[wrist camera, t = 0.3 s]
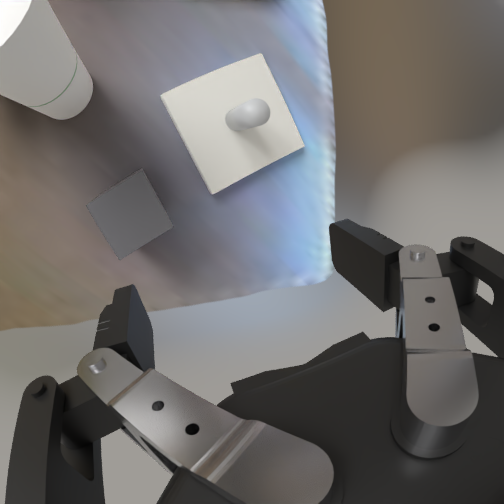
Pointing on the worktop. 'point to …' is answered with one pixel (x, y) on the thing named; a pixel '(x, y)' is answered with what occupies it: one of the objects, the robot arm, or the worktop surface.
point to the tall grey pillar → (130, 214)
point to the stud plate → (216, 136)
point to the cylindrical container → (40, 61)
